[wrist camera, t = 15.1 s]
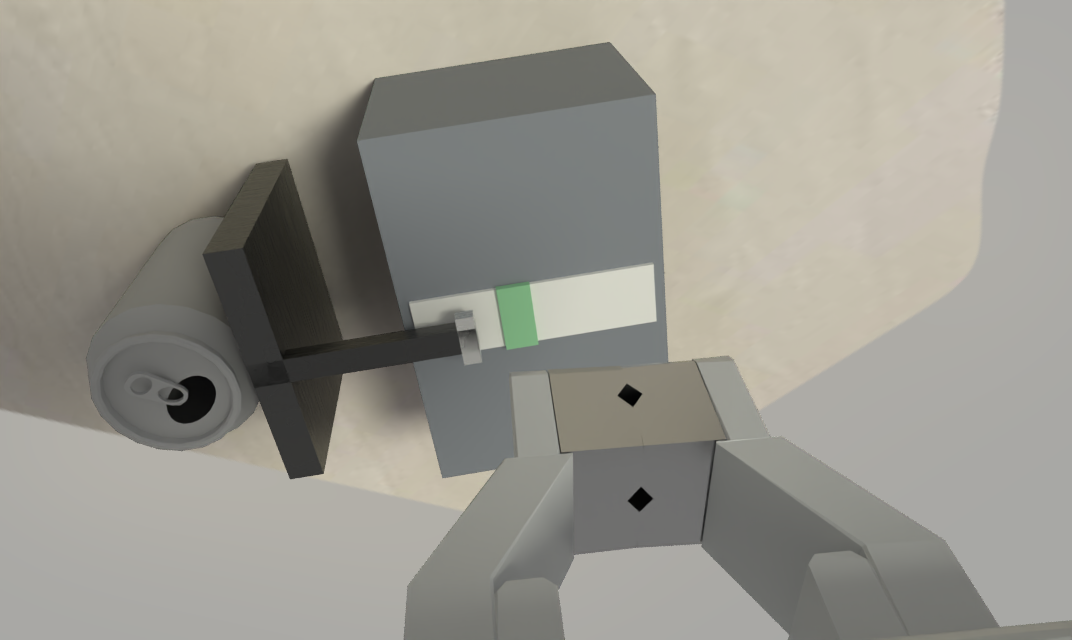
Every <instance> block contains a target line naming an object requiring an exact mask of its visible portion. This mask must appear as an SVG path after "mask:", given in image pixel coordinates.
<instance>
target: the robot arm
mask: <svg viewBox="0 0 1072 640" xmlns="http://www.w3.org/2000/svg"><path fill="white" fill-rule="evenodd" d="M509 387H510V402H511V417H512V433H513V448H514V458H506V459H504V460H503V461H502V463H501V464H500V465H499V466H498V468H497V469H496V470H495V472H494V473H493V474H492V476H491V477H490V478H489V480H488V481H487V482H486V484H485V485H484V486H483V487H482V489H481V490H480V491H479V493H478V494H477V495H476V497H475V498H474V499H473V501H472V502H471V503H470V505H469V506H468V507H467V508H466V510H465V511H464V512H463V514H462V515H461V517H460V518H459V519H458V520H457V522H456V523H455V524H454V526H453V527H452V528H451V529H450V531H449V532H448V533H447V535H446V536H445V537H444V539H443V540H442V542H441V543H440V544H439V545H438V547H437V548H436V549H435V550H434V552H433V553H432V554H431V556H430V557H429V558H428V560H427V561H426V562H425V564H424V565H423V566H422V568H421V569H420V570H419V571H418V573H417V574H416V575H415V577H414V578H413V579H412V581H411V582H410V583H409V585H408V586H407V601H406V614H405V628H404V640H565V637H564V630H563V622H562V616H561V607H560V600H559V592H558V590H559V588H560V586H561V584H562V582H563V580H564V578H565V576H566V573H567V572H568V569H569V567H570V565H571V563H572V561H573V559H574V555H576V554H585V553H593V552H602V551H611V550H620V549H628V548H636V547H637V548H638V547H656V546H673V545H689V544H702V548H703V549H704V550H705V551H706V552H707V553H708V554H709V555H710V556H711V557H712V558H713V559H714V560H715V561H716V562H717V563H718V564H719V565H720V566H721V567H722V568H723V569H724V570H725V571H726V572H727V573H728V574H729V575H730V576H731V577H732V578H733V579H734V580H735V581H736V582H737V583H738V584H739V585H740V586H741V587H742V588H743V589H744V590H745V591H746V592H747V593H748V594H749V595H750V596H752V598H753V599H754V600H755V601H757V603H758V604H759V605H760V606H761V607H762V608H763V609H764V610H765V611H766V612H767V613H768V614H769V615H770V616H771V617H772V618H773V619H774V620H775V621H776V622H777V623H779V625H780V626H781V627H783V629H784V630H785V631H786V632H787V633H788V634H789V638H788V640H1072V620H1070V621H1059V622H1048V623H1038V624H1026V625H1016V626H1005V627H1000V626H999V625H998V623H997V622H996V620H995V619H994V617H993V615H992V614H991V612H990V611H989V609H988V607H987V606H986V605H985V603H984V601H983V600H982V598H981V596H980V595H979V593H978V592H977V590H976V588H975V587H974V585H973V584H972V582H971V581H970V579H969V577H968V576H967V574H966V573H965V571H964V570H963V568H962V566H961V565H960V563H959V562H958V560H957V558H956V557H955V555H954V554H953V552H952V551H951V549H950V547H949V546H948V544H947V543H946V541H945V540H944V539H942V538H941V537H939V536H938V535H936V534H934V533H932V532H931V531H930V530H928V529H927V528H925V527H923V526H922V525H920V524H919V523H917V522H916V521H914V520H912V519H911V518H909V517H908V516H906V515H905V514H903V513H901V512H900V511H898V510H897V509H895V508H894V507H892V506H890V505H889V504H887V503H886V502H884V501H883V500H881V499H879V498H877V497H876V496H875V495H873V494H872V493H870V492H868V491H867V490H865V489H864V488H862V487H861V486H859V485H857V484H856V483H854V482H853V481H851V480H850V479H848V478H846V477H845V476H843V475H842V474H840V473H839V472H837V471H835V470H834V469H832V468H831V467H829V466H828V465H826V464H825V463H823V462H821V461H820V460H818V459H817V458H815V457H813V456H812V455H810V454H809V453H807V452H806V451H804V450H802V449H801V448H799V447H797V446H796V445H795V444H793V443H791V442H790V441H788V440H787V439H785V438H784V437H781V436H779V437H771V436H770V434H769V432H768V430H767V428H766V426H765V424H764V422H763V420H762V417H761V415H760V413H759V411H758V409H757V407H756V405H755V403H754V401H753V399H752V397H751V394H750V392H749V390H748V388H747V386H746V384H745V382H744V380H743V378H742V376H741V374H740V372H739V369H738V367H737V365H736V363H735V361H734V359H732V358H731V357H729V356H720V357H710V358H700V359H692V361H677V362H664V363H652V364H640V365H627V366H606V367H587V368H568V369H549V370H548V371H547V372H546V370H538V371H522V372H510V375H509Z"/></svg>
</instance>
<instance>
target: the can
mask: <svg viewBox="0 0 1072 640" xmlns="http://www.w3.org/2000/svg"><path fill="white" fill-rule="evenodd" d="M223 219H224V218H223V217H215V216H212V217H206V218H200V219H194V220H190V221H188V222H186V223H184V224H182V225H181V226H179V227H177V228H175V229H173V230H172V231H171V232H170V233H169V234H168V236H167V237H166V238H165V239H164V240H163V241H162V242H161V243H160V245H159V246H158V247H157V249H156V250H155V252H154V253H153V254H152V256H151V257H150V259H149V260H148V261H147V263H146V264H145V265H144V267H143V268H142V270H141V271H140V272H139V274H138V275H137V277H136V278H135V279H134V281H133V282H132V283H131V285H130V286H129V288H128V289H127V290H126V292H125V293H124V295H123V296H122V297H121V299H120V300H119V301H118V303H117V304H116V306H115V307H114V308H113V310H112V311H111V313H110V314H109V315H108V317H107V318H106V319H105V321H104V322H103V324H102V325H101V326H100V328H99V329H98V330H97V332H96V333H95V335H94V336H93V338H92V341H91V344H90V347H89V351H88V354H87V357H86V359H87V368H88V376H89V383H90V391H91V398H92V400H93V402H94V404H95V406H96V408H97V410H98V411H99V413H100V415H101V416H102V417H103V418H104V419H105V420H106V421H107V422H108V423H109V424H110V425H111V426H112V427H113V428H114V429H115V430H116V431H117V432H119V433H121V434H122V435H124V436H126V437H128V438H129V439H131V440H133V441H135V442H137V443H140V444H143V445H147V446H150V447H153V448H156V449H163V450H178V451H183V450H190V449H196V448H201V447H205V446H207V445H209V444H211V443H213V442H215V441H217V440H219V439H221V438H222V437H223V436H224V435H225V434H227V433H228V432H230V431H232V430H234V429H236V428H238V427H239V426H240V425H241V424H242V423H243V422H244V421H245V420H247V419H248V418H249V417H250V416H251V415H252V414H253V413H254V411H255V408H256V406H257V404H258V402H259V398H258V396H257V393H256V391H255V388H254V386H253V383H252V381H251V378H250V375H249V373H248V370H247V368H246V365H245V363H244V360H243V358H242V355H241V352H240V350H239V347H238V345H237V342H236V340H235V337H234V335H233V332H232V329H231V327H230V324H229V322H228V319H227V317H226V314H225V312H224V309H223V306H222V304H221V301H220V299H219V296H218V294H217V291H216V289H215V286H214V283H213V281H212V278H211V276H210V273H209V271H208V268H207V266H206V263H205V260H204V258H203V255H202V254H203V252H204V250H205V249H206V247H207V245H208V244H209V242H210V240H211V239H212V237H213V235H214V234H215V232H216V230H217V229H218V227H219V225H220V224H221V222H222V220H223Z"/></svg>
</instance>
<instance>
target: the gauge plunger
mask: <svg viewBox="0 0 1072 640" xmlns="http://www.w3.org/2000/svg"><path fill="white" fill-rule="evenodd" d="M202 255H203V258H204V260H205V263H206V266H207V268H208V271H209V273H210V276H211V278H212V281H213V283H214V286H215V289H216V291H217V294H218V296H219V299H220V301H221V304H222V306H223V309H224V312H225V314H226V317H227V319H228V322H229V324H230V327H231V329H232V332H233V335H234V337H235V340H236V342H237V345H238V347H239V350H240V352H241V355H242V358H243V360H244V363H245V365H246V368H247V370H248V373H249V375H250V378H251V381H252V383H253V386H254V388H255V391H256V393H257V396H258V398H259V401H260V404H261V406H262V409H263V411H264V414H265V416H266V419H267V422H268V424H269V427H270V429H271V432H272V434H273V437H274V439H275V442H276V445H277V447H278V450H279V452H280V455H281V457H282V460H283V462H284V465H285V468H286V470H287V473H288V475H289V478H290V479H295V478H301V477H307V476H313V475H319V474H324V469H325V464H326V459H327V453H328V448H329V443H330V438H331V433H332V427H333V422H334V417H335V412H336V407H337V401H338V396H339V391H340V386H341V381H342V375H343V374H344V373H351V372H357V371H363V370H369V369H375V368H381V367H387V366H394V365H400V364H406V363H412V362H418V361H424V360H430V359H436V358H443V357H449V356H455V355H461V354H462V356H463V361H464V365H470V364H476V363H482V354H481V349H480V344H479V338H478V332H477V327H476V322H475V319H474V314H473V310H469V311H462V312H456V313H455V322H454V323H448V324H442V325H436V326H429V327H423V328H417V329H411V330H405V331H399V332H392V333H386V334H380V335H374V336H368V337H362V338H355V339H349V340H343V339H342V336H341V332H340V329H339V326H338V322H337V319H336V316H335V313H334V309H333V306H332V303H331V300H330V296H329V293H328V290H327V286H326V283H325V280H324V277H323V273H322V270H321V267H320V264H319V260H318V257H317V254H316V250H315V247H314V244H313V241H312V237H311V234H310V231H309V228H308V224H307V221H306V218H305V214H304V211H303V208H302V205H301V201H300V198H299V195H298V192H297V188H296V185H295V182H294V178H293V175H292V172H291V169H290V165H289V162H288V159H284V160H278V161H271V162H265V163H259V164H256V165H255V167H254V169H253V170H252V172H251V174H250V175H249V177H248V179H247V180H246V182H245V184H244V185H243V187H242V189H241V190H240V192H239V194H238V195H237V197H236V199H235V200H234V202H233V204H232V205H231V207H230V209H229V210H228V212H227V214H226V215H225V217H224V219H223V220H222V222H221V224H220V225H219V227H218V229H217V230H216V232H215V234H214V235H213V237H212V239H211V240H210V242H209V244H208V245H207V247H206V249H205V250H204V252H203V254H202Z"/></svg>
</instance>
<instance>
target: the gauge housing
mask: <svg viewBox="0 0 1072 640" xmlns="http://www.w3.org/2000/svg"><path fill="white" fill-rule="evenodd" d="M357 144H358V148H359V152H360V155H361V159H362V163H363V167H364V171H365V175H366V179H367V183H368V187H369V191H370V195H371V199H372V203H373V207H374V211H375V215H376V218H377V222H378V226H379V230H380V234H381V238H382V242H383V246H384V250H385V254H386V258H387V262H388V266H389V270H390V274H391V278H392V281H393V285H394V289H395V293H396V297H397V301H398V305H399V309H400V313H401V317H402V321H403V325H404V329H405V330H411V329H417V328H423V327H429V326H436V325H442V324H448V323H454V322H455V313H456V312H462V311H469V310H473V314H474V319H475V322H476V327H477V332H478V338H479V344H480V349H481V354H482V363H476V364H470V365H464V361H463V356H462V354H461V355H455V356H449V357H443V358H436V359H430V360H424V361H418V362H413V364H414V368H415V372H416V376H417V380H418V384H419V388H420V392H421V396H422V400H423V404H424V407H425V411H426V415H427V419H428V423H429V427H430V431H431V435H432V439H433V443H434V447H435V451H436V455H437V459H438V463H439V467H440V470H441V474H442V478H447V477H453V476H459V475H465V474H471V473H477V472H483V471H489V470H495V469H497V468H498V466H499V465H500V464H501V463H502V461H503V460H504V459H506V458H514V448H513V433H512V417H511V402H510V387H509V375H510V372H522V371H538V370H546V372H547V371H548V370H549V369H568V368H587V367H606V366H627V365H640V364H652V363H664V362H668V347H667V325H666V304H665V282H664V261H663V240H662V218H661V197H660V175H659V154H658V132H657V111H656V94H655V93H654V92H653V90H652V89H651V88H650V87H649V86H648V85H647V84H646V82H645V81H644V80H643V79H642V78H641V77H640V76H639V75H638V73H637V72H636V71H635V70H634V69H633V68H632V67H631V65H630V64H629V63H628V62H627V61H626V60H625V59H624V58H623V56H622V55H621V54H620V53H619V52H618V51H617V50H616V48H615V47H614V46H613V45H612V44H611V43H610V42H607V43H601V44H595V45H588V46H582V47H575V48H569V49H562V50H556V51H549V52H543V53H536V54H530V55H524V56H517V57H511V58H504V59H498V60H491V61H485V62H478V63H472V64H466V65H459V66H453V67H446V68H440V69H433V70H427V71H420V72H414V73H407V74H401V75H395V76H388V77H382V78H375V82H374V85H373V88H372V92H371V95H370V98H369V102H368V105H367V108H366V112H365V115H364V118H363V122H362V125H361V129H360V132H359V135H358V139H357Z"/></svg>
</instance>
